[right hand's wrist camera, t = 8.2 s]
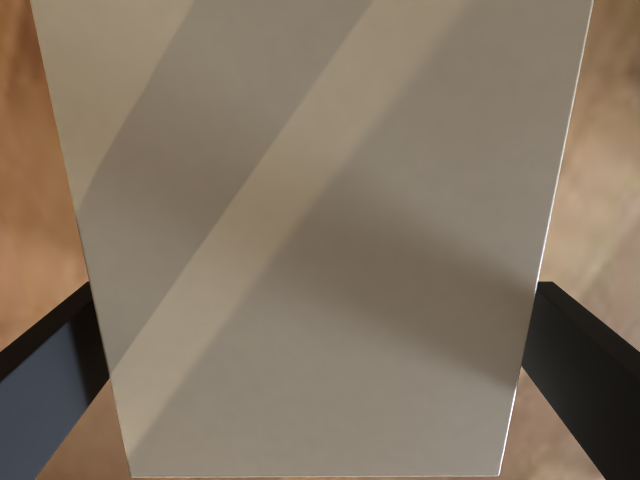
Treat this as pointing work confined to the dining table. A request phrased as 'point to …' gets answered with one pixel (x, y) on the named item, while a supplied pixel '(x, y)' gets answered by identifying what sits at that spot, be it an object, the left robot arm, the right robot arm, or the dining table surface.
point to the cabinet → (313, 221)
